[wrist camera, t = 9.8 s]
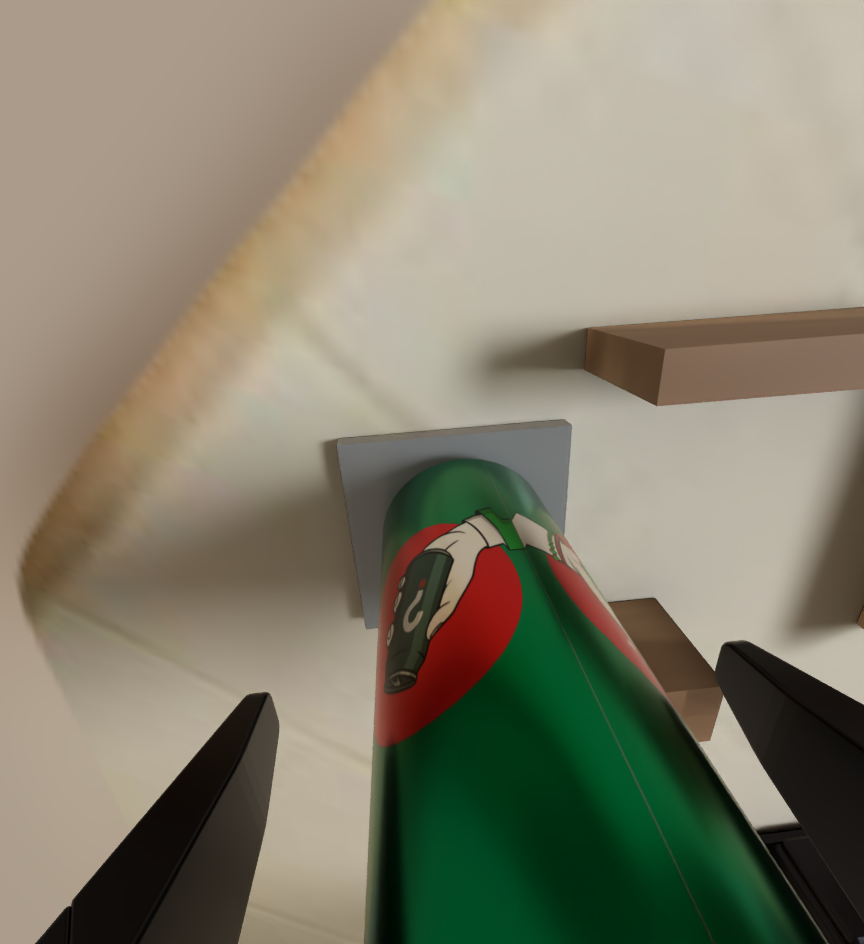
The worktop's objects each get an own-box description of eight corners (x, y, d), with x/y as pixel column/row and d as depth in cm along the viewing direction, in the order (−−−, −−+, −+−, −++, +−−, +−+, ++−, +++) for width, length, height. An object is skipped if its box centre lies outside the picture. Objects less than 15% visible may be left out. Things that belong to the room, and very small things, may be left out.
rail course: (884, 620, 19) (1003, 705, 15) (562, 656, 18) (604, 753, 14) (1034, 294, 13) (1274, 301, 10) (587, 327, 13) (665, 349, 9)
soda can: (373, 579, 15) (315, 1405, 4) (395, 439, 13) (401, 1310, 2) (516, 593, 16) (797, 1328, 5) (558, 463, 14) (1198, 1203, 3)
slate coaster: (553, 598, 17) (558, 609, 16) (367, 617, 16) (366, 629, 16) (565, 419, 14) (571, 425, 13) (338, 438, 13) (336, 445, 13)
